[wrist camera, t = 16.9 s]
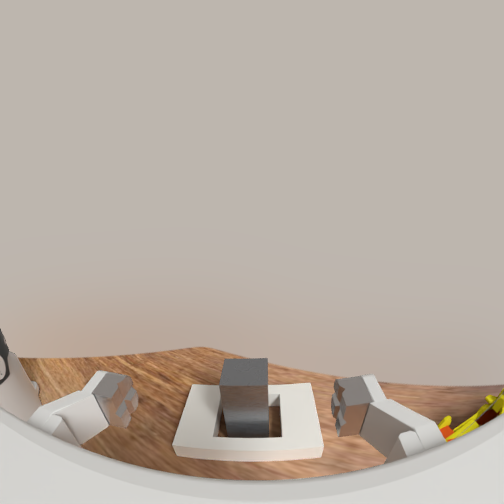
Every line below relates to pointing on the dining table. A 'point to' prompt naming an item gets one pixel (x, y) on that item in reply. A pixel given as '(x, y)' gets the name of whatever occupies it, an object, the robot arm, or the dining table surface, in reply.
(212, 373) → the dining table surface
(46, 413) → the robot arm
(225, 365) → the grey metal block
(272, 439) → the white rectangular frame
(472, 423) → the toy boat
